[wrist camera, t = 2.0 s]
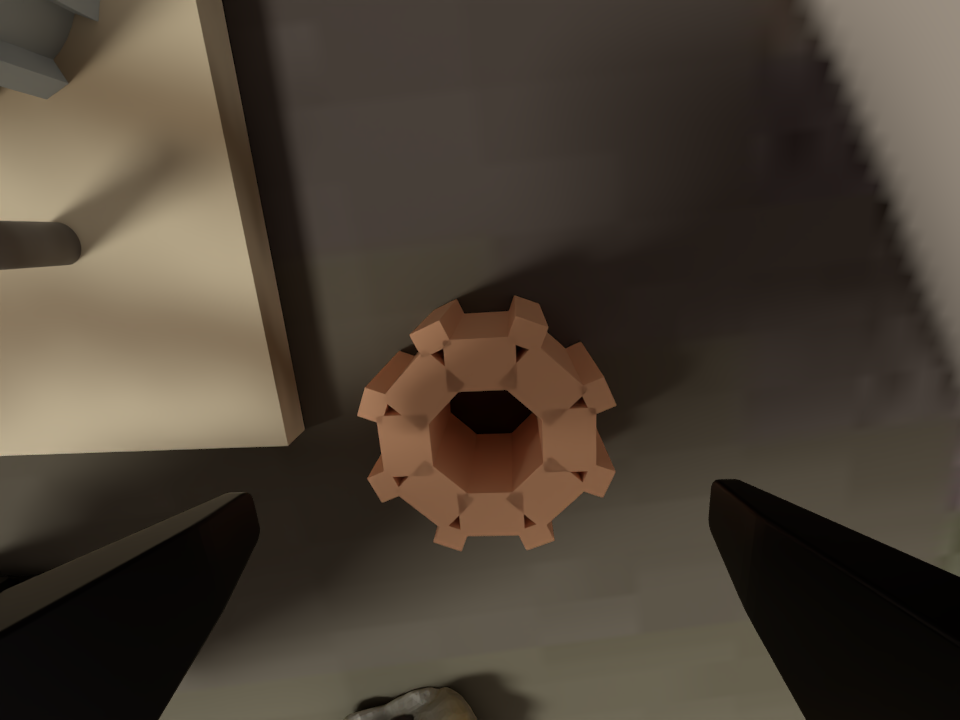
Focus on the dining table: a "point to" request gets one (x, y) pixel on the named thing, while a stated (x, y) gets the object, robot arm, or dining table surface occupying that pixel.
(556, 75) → the dining table surface
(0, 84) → the gear
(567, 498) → the gear
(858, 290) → the dining table surface
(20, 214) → the gear board
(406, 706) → the pastry
